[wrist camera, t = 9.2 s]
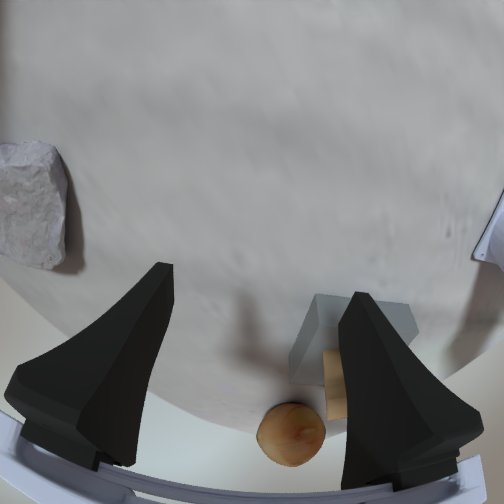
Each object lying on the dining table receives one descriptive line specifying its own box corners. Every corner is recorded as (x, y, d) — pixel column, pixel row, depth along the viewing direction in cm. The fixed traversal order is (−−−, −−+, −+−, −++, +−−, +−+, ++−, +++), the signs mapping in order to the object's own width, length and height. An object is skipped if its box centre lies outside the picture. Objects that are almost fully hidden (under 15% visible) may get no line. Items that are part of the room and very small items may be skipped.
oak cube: (376, 342, 24) (387, 390, 20) (371, 369, 27) (378, 412, 23) (322, 350, 25) (327, 400, 21) (323, 377, 28) (327, 420, 24)
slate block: (407, 301, 26) (419, 331, 23) (367, 357, 32) (373, 385, 29) (314, 290, 26) (319, 325, 23) (288, 352, 32) (289, 383, 29)
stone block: (76, 132, 19) (-9, 140, 17) (51, 154, 16) (-38, 163, 14) (89, 245, 27) (15, 240, 25) (76, 278, 23) (-3, 270, 21)
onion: (252, 394, 38) (248, 460, 30) (324, 389, 36) (329, 456, 28) (263, 418, 43) (260, 472, 35) (323, 414, 42) (326, 469, 34)
